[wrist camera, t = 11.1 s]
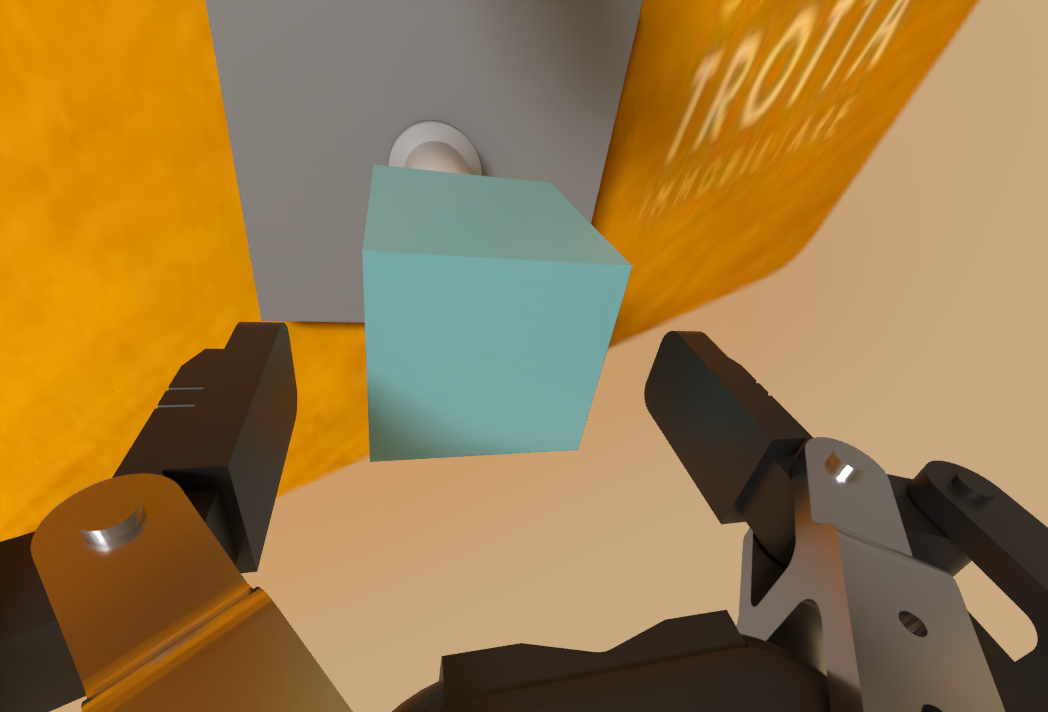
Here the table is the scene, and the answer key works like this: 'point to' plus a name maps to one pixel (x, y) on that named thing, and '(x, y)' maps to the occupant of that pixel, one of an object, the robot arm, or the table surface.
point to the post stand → (402, 117)
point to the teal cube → (482, 315)
